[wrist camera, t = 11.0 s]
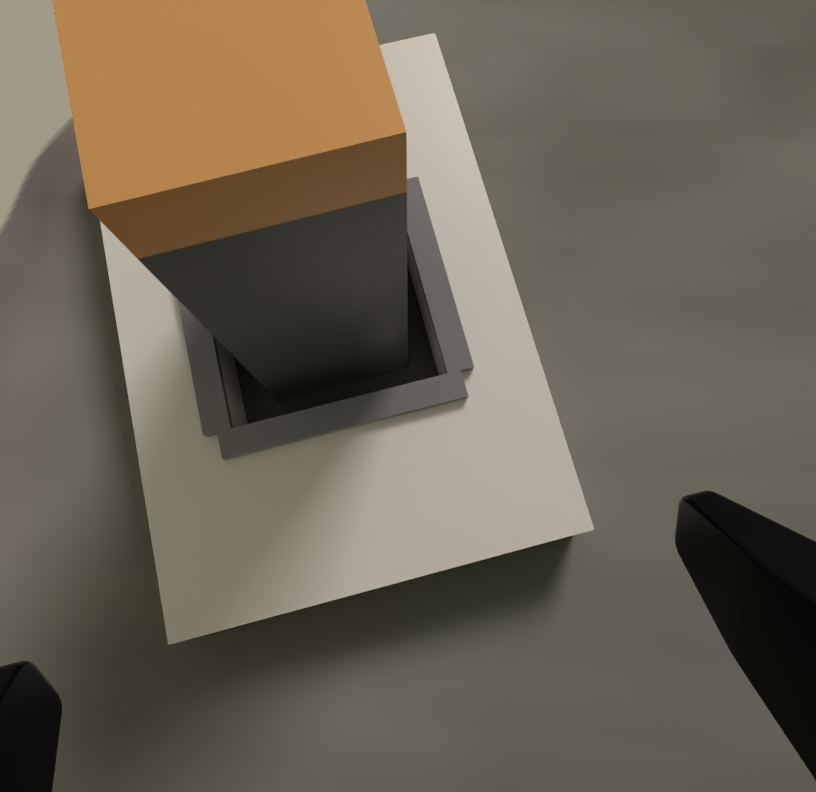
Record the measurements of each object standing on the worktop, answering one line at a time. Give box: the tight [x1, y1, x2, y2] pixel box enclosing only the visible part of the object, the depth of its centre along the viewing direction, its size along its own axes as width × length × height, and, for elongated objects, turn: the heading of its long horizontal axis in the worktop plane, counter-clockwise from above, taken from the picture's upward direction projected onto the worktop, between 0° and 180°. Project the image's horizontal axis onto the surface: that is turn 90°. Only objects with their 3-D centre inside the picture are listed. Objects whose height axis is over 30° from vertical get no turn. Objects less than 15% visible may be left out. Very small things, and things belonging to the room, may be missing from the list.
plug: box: [52, 0, 408, 401], centre depth 15 cm, size 4×4×12 cm
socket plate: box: [100, 33, 594, 645], centre depth 19 cm, size 17×12×2 cm
